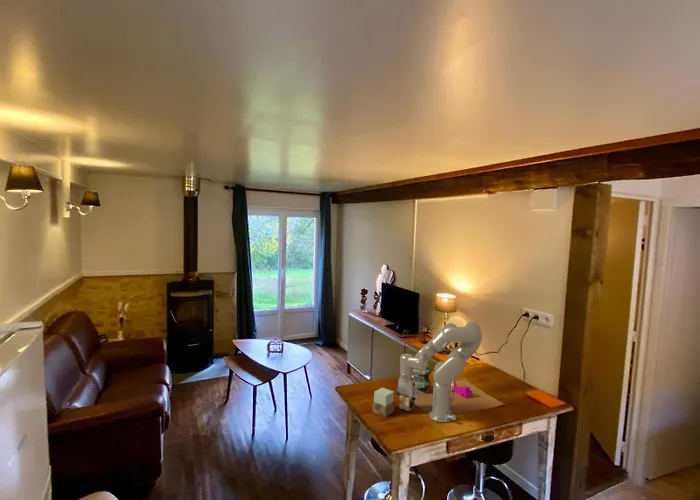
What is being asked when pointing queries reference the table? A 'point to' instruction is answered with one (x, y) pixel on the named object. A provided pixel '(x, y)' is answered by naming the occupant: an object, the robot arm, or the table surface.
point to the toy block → (463, 391)
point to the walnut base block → (383, 409)
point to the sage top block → (383, 396)
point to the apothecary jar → (422, 379)
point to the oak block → (405, 402)
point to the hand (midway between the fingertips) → (406, 405)
